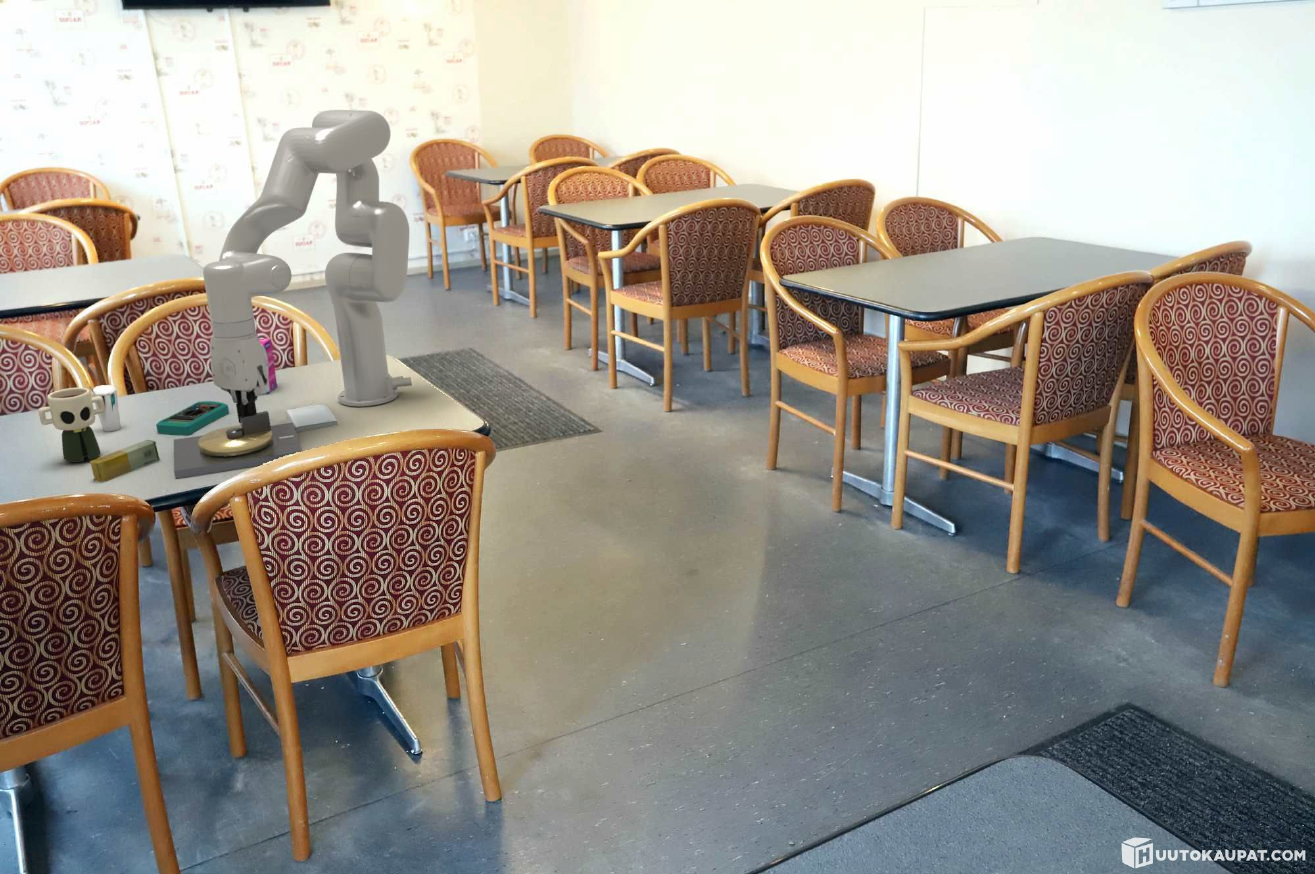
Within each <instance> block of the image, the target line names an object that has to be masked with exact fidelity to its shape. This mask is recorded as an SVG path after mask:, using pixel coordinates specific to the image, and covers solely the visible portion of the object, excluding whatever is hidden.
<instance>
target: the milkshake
mask: <svg viewBox="0 0 1315 874" xmlns="http://www.w3.org/2000/svg"><path fill="white" fill-rule="evenodd" d="M88 387H89V388H88V389H89V390H90V395H91V398H93V397H98V396H100V397H102V398H103V402H104V407H105V412H103V413H100V414H97V415H98V418H99V421H100V425H101V429H102V431H103V432H109V433H110V432H117V431H118V430H120V429H121V427H122V425H121V419H120V418H121V417H120V410H119V409H120V408H119V400H118V391H117V388H116V387H115V386H114V385H111V384H106V385H105V384H104V385H103V384H102V385H97V386H95V387H94V388H92V386H88ZM94 405H95V408H96V409H99V406H98V402H94Z"/></svg>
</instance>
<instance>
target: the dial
mask: <svg viewBox="0 0 1315 874" xmlns="http://www.w3.org/2000/svg"><path fill="white" fill-rule="evenodd" d="M240 421H241V423H240V425H232V426H226V427H221V428H219V429H217V428H216V429H215V430H212V431H209V432H207V433H205V434H203V436H202V435H201V436H202V437H201V438H200V439H199V441H198V442H199V448H200V451H201V452H202V453H204V454H206V455H211V456H234V455H241V454H246V453H250V452H254V451H257V450H260V449H262V448H264V447H266V446H268V445H269V444H271V442H272V441H273V437H272V431H271V426H272V425H271V420H270V414H269V411H268V410H265V411H259V412H257V413H254V414H249V415H244V416H240Z"/></svg>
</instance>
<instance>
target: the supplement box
mask: <svg viewBox="0 0 1315 874" xmlns="http://www.w3.org/2000/svg"><path fill="white" fill-rule="evenodd" d="M259 340H260V343H261V346H262V350H263V354H264V358H265V362H266V368H267V374H268V383H267V385H265V387H266V390H267V393H266V394H265V395H269V394H270V393H271V392H272V391H273V390H275V389H276V388H277V387H278V384H277V378H276V377H277V376H276V368H275V360H274V352H273V345H272V343H273V342H272V339H271V338H259ZM248 393H249V392H248Z"/></svg>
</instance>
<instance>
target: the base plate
mask: <svg viewBox="0 0 1315 874" xmlns="http://www.w3.org/2000/svg"><path fill="white" fill-rule="evenodd" d="M270 426H271V431H272V437H273V441H272V442H271V444H269V445H268V446H266V447H264V448H262V449H260V450H257V451H254V452H250V453H246V454H241V455H234V456H211V455H206V454H204V453H202V452H201V451H200V448H199V442H198V441H199V439H200V438H201V437H202V436H203V435H204V434H203V435H196V436H195V435H194V436H189V437H183V438H175V439H173V472H174V478H175V480H176V479H177V480H178V479H183V478H189V477H197V476H202V475H208V474H215V473H220V472H227V471H228V472H229V471H233V470H241V469H246V468H253V467H259V466H258V465H260V466H263V465H262V464H263V463H267V462H269V461H273V460H274V459H278V458H279V457H283V456H285V455H289V454H294V453H296V452H301V451H303V449H302V445H301V443H300V440H299V437H298V432H296V430H295V428H294V425H293V423H291V422H286V423H279V424H273V425H270Z"/></svg>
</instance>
